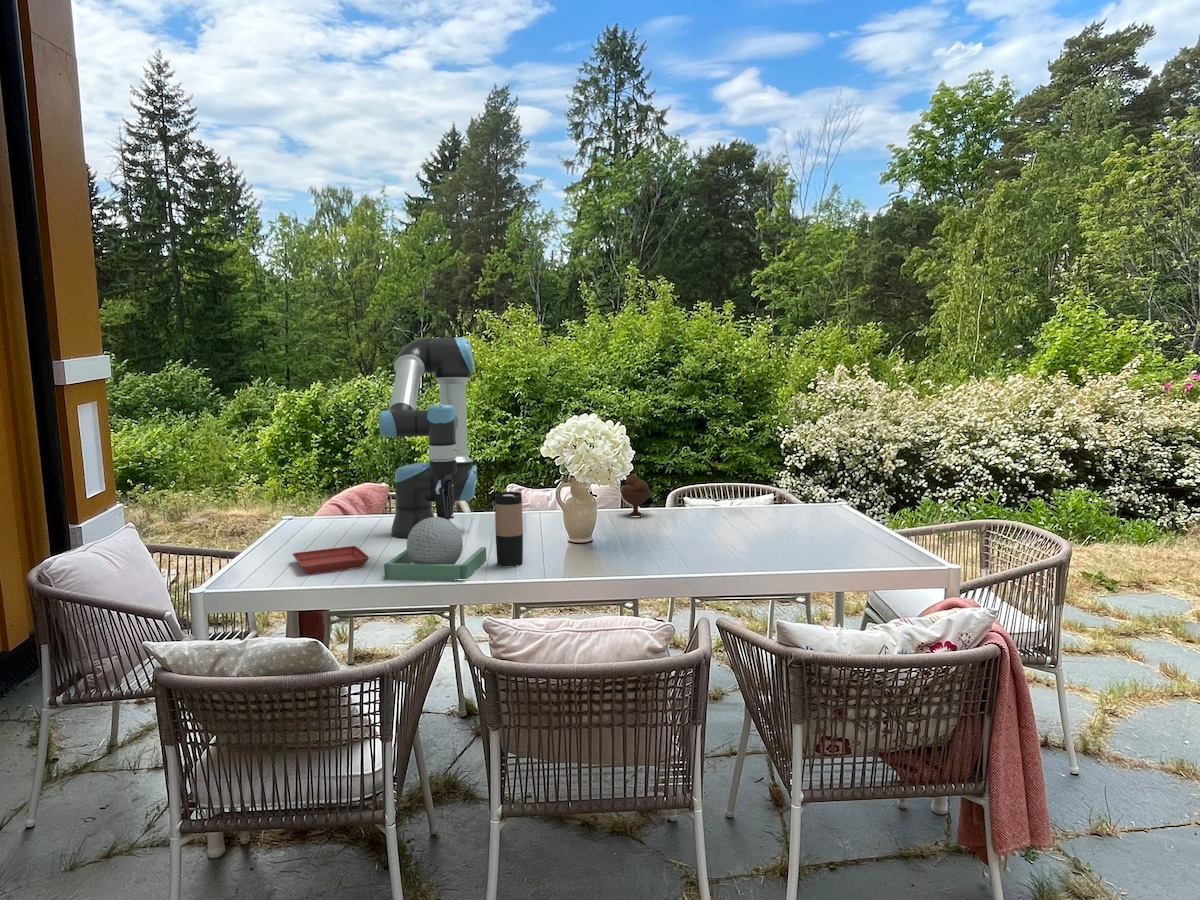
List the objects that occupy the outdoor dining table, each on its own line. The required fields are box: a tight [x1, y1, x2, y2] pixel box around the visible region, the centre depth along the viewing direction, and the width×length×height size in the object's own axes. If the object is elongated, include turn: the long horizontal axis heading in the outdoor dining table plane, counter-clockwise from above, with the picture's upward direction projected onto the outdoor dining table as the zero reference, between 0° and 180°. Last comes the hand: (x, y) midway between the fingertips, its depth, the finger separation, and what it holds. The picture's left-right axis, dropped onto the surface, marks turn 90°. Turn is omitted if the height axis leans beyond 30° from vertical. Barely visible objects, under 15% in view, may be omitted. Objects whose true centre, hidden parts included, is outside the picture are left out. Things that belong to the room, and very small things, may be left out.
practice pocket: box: [383, 546, 487, 581], centre depth 224 cm, size 22×22×4 cm
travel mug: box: [494, 491, 524, 567], centre depth 229 cm, size 8×8×20 cm
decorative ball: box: [406, 516, 464, 564], centre depth 222 cm, size 15×15×15 cm
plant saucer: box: [291, 545, 370, 575], centre depth 231 cm, size 18×18×3 cm
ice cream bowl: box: [620, 474, 651, 517], centre depth 297 cm, size 11×11×15 cm
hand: (446, 542), depth 231 cm, fingers closed
